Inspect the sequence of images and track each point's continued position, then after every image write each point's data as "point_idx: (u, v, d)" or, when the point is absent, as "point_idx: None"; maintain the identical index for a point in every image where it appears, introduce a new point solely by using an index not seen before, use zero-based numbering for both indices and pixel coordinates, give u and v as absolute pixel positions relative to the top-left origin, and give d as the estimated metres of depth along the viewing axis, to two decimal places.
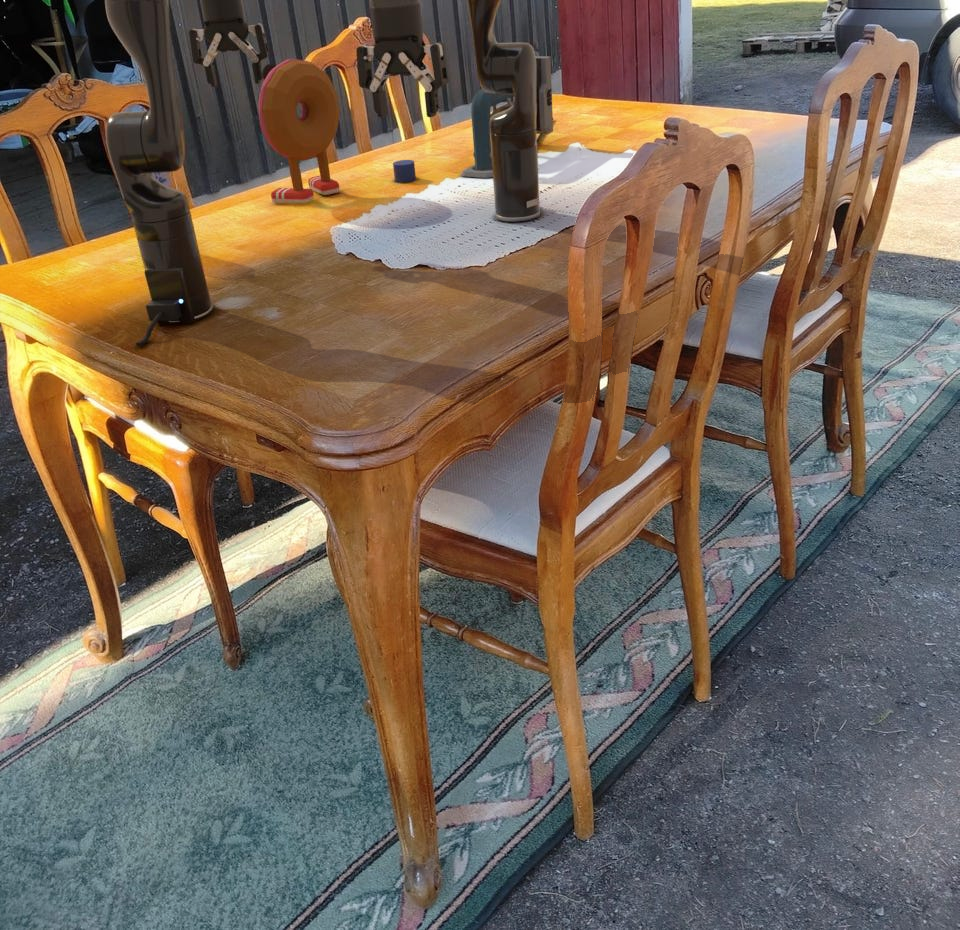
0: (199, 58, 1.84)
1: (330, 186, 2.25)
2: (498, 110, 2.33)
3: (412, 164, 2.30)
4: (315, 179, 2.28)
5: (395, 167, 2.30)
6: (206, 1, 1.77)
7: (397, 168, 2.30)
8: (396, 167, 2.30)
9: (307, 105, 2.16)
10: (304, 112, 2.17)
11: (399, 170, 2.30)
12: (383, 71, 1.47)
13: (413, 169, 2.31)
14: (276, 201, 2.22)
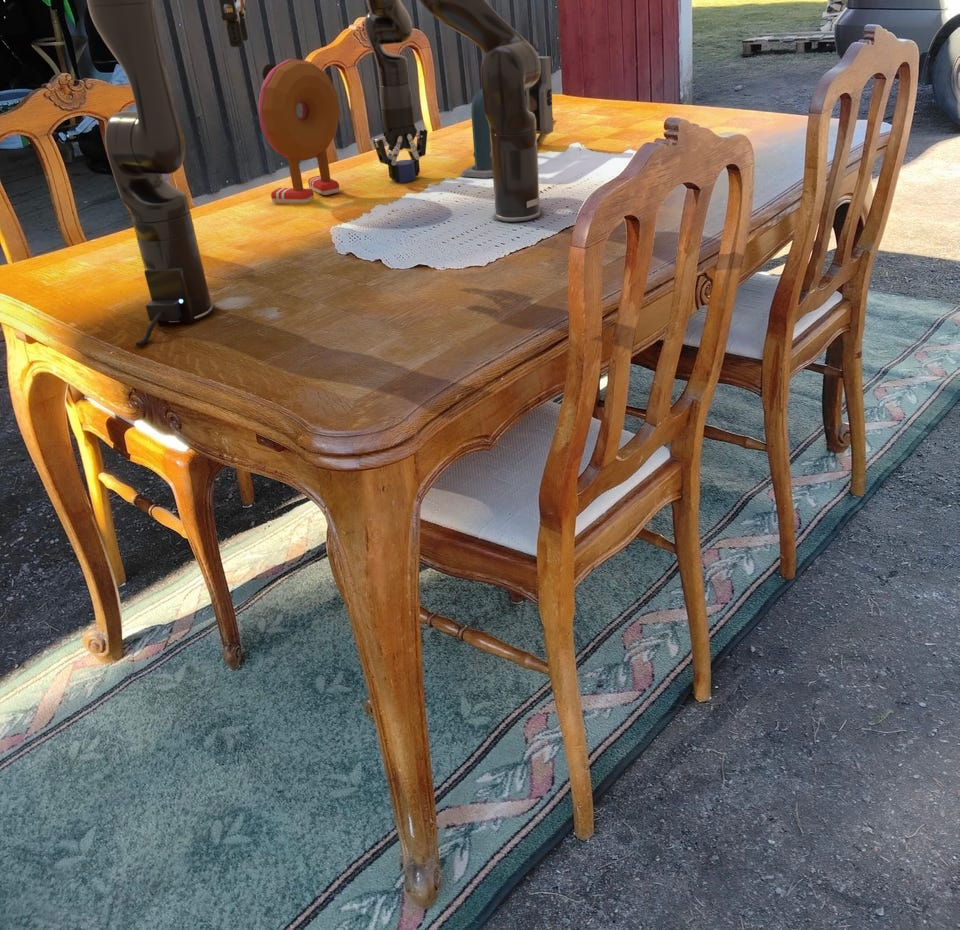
0: None
1: (330, 186, 2.25)
2: None
3: (412, 164, 2.30)
4: (315, 179, 2.28)
5: None
6: None
7: (397, 168, 2.30)
8: None
9: (307, 105, 2.16)
10: (304, 112, 2.17)
11: (399, 170, 2.30)
12: (399, 148, 2.27)
13: (413, 169, 2.31)
14: (276, 201, 2.22)
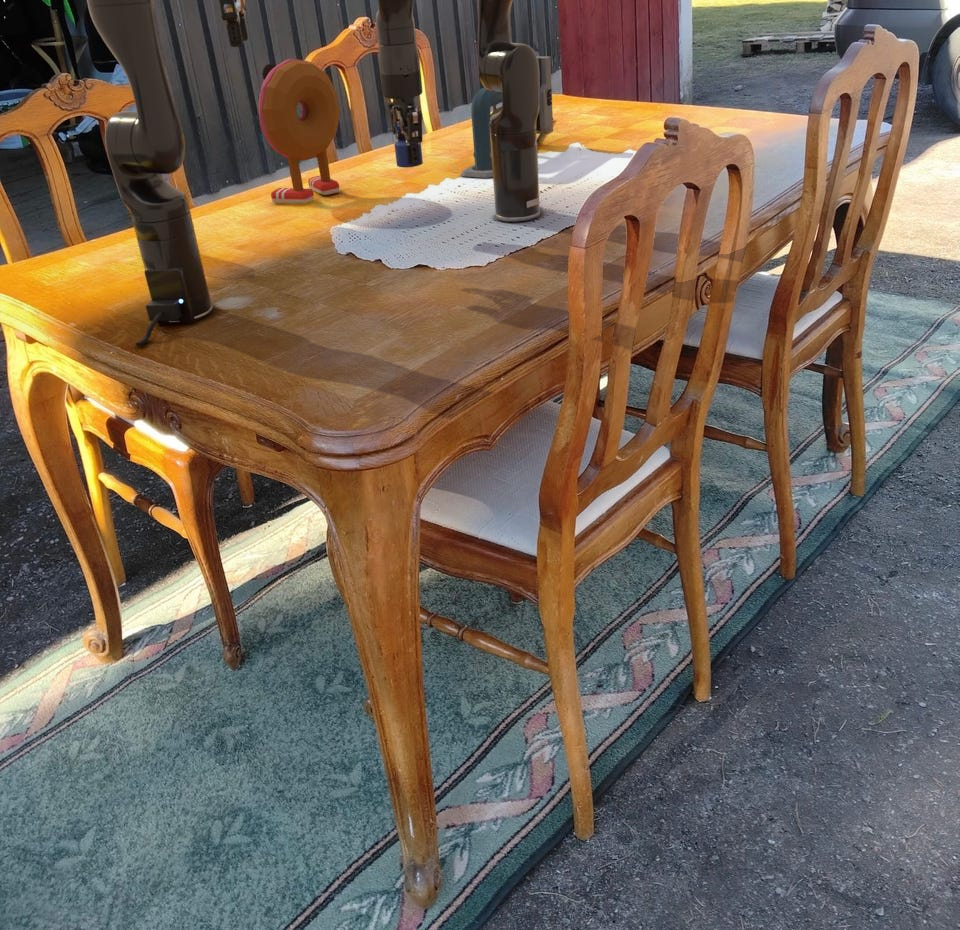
0: None
1: (330, 186, 2.25)
2: (498, 110, 2.33)
3: None
4: (315, 179, 2.28)
5: None
6: None
7: None
8: None
9: (307, 105, 2.16)
10: (304, 112, 2.17)
11: None
12: None
13: None
14: (276, 201, 2.22)
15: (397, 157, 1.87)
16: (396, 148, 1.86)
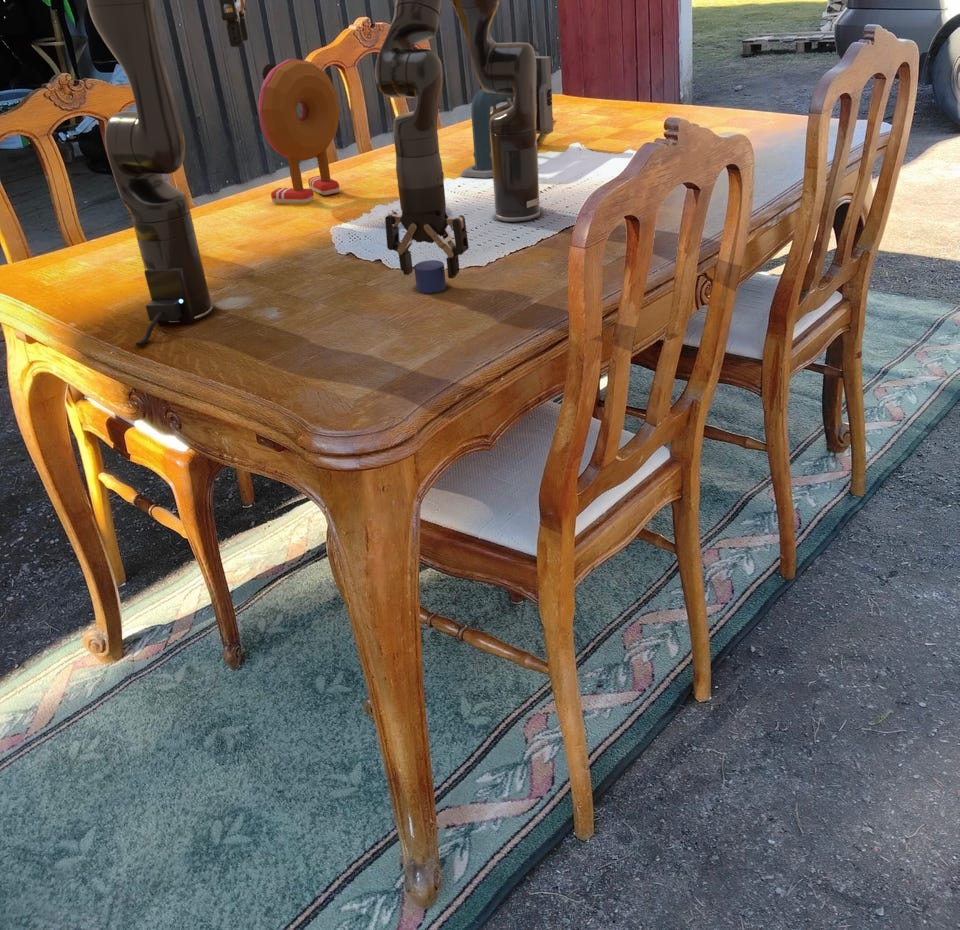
0: None
1: (330, 186, 2.25)
2: (498, 110, 2.33)
3: None
4: (315, 179, 2.28)
5: (443, 269, 1.65)
6: None
7: None
8: None
9: (307, 105, 2.16)
10: (304, 112, 2.17)
11: None
12: (442, 233, 1.63)
13: None
14: (276, 201, 2.22)
15: (426, 283, 1.64)
16: (425, 274, 1.64)
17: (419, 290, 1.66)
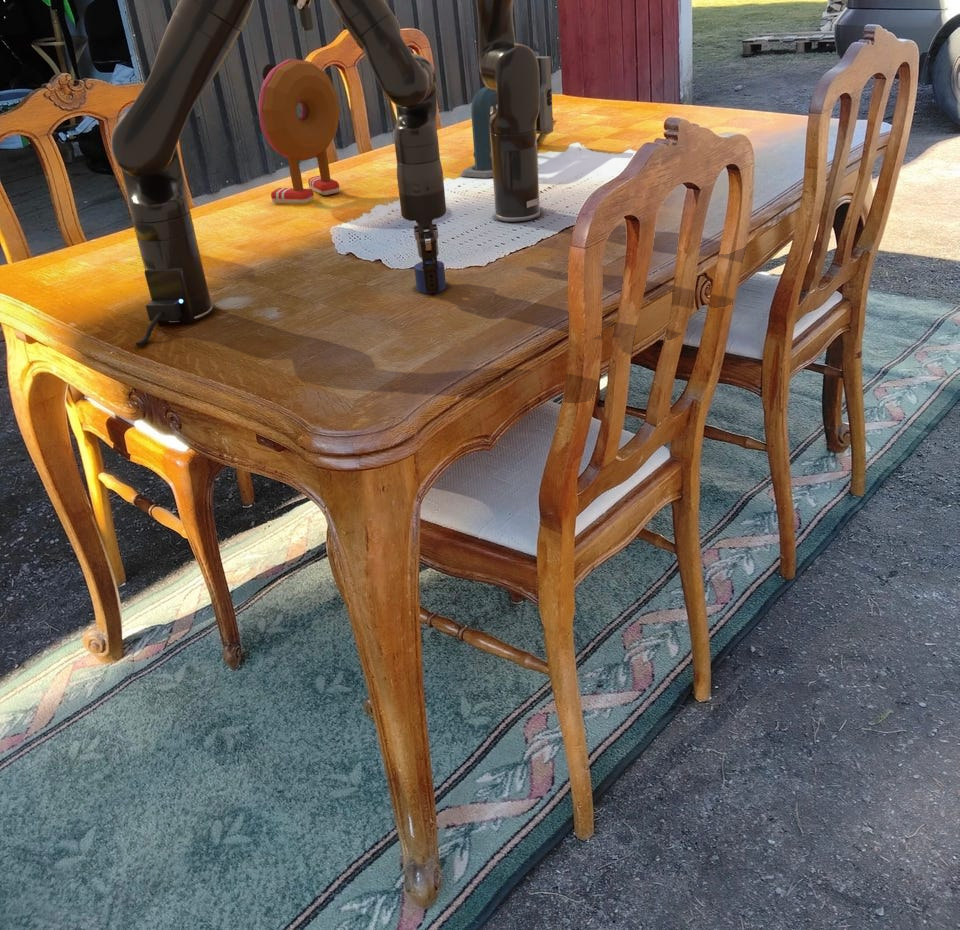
0: None
1: (330, 186, 2.25)
2: None
3: None
4: (315, 179, 2.28)
5: (443, 269, 1.65)
6: (442, 195, 1.58)
7: None
8: None
9: (307, 105, 2.16)
10: (304, 112, 2.17)
11: None
12: None
13: None
14: (276, 201, 2.22)
15: None
16: None
17: (419, 290, 1.66)
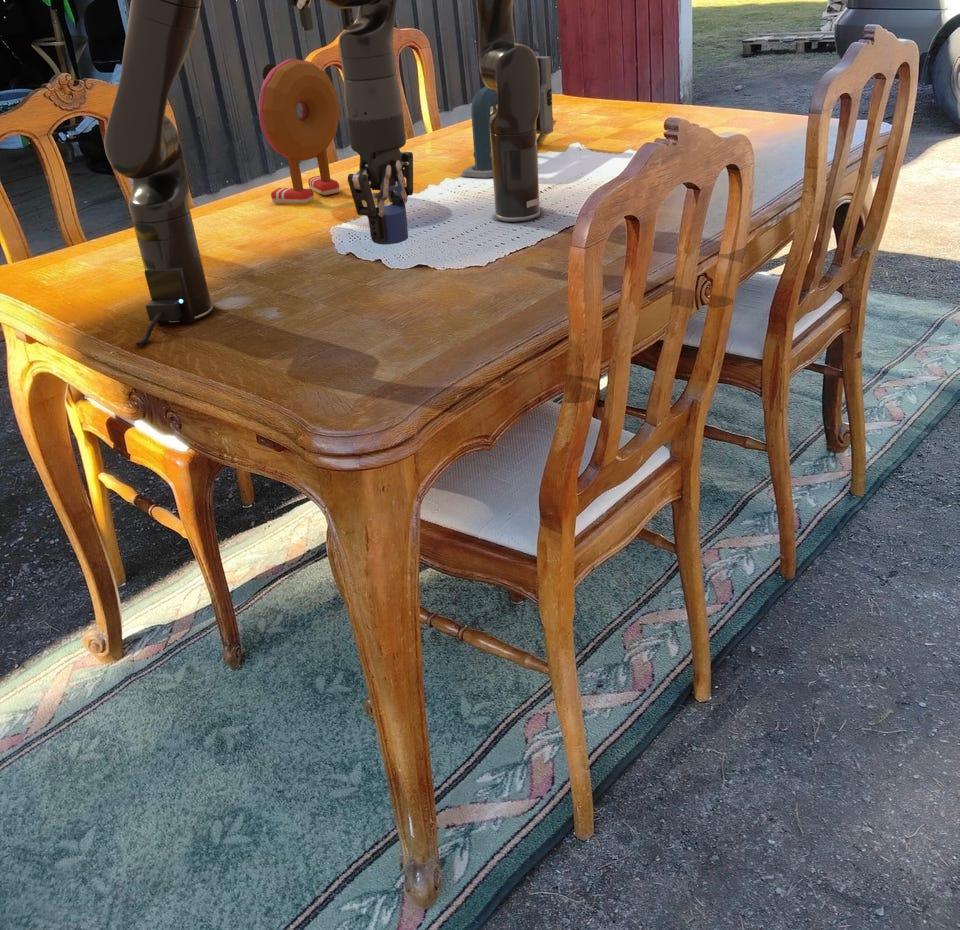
0: None
1: (330, 186, 2.25)
2: None
3: None
4: (315, 179, 2.28)
5: (398, 217, 1.35)
6: (389, 124, 1.27)
7: (402, 216, 1.35)
8: (401, 215, 1.35)
9: (307, 105, 2.16)
10: (304, 112, 2.17)
11: (404, 218, 1.36)
12: None
13: None
14: (276, 201, 2.22)
15: None
16: None
17: None
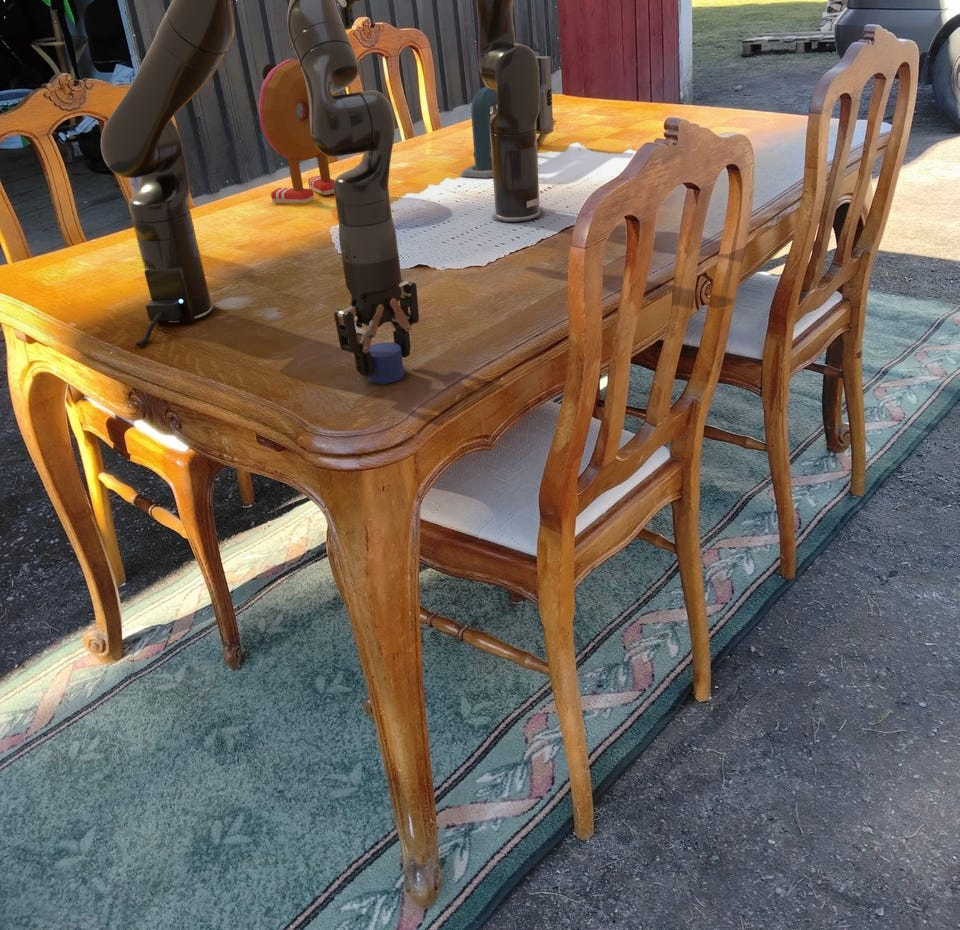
0: None
1: (330, 186, 2.25)
2: None
3: None
4: (315, 179, 2.28)
5: (390, 359, 1.34)
6: (378, 268, 1.26)
7: (395, 358, 1.35)
8: (393, 357, 1.34)
9: (307, 105, 2.16)
10: (304, 112, 2.17)
11: (398, 359, 1.35)
12: None
13: None
14: (276, 201, 2.22)
15: None
16: None
17: None
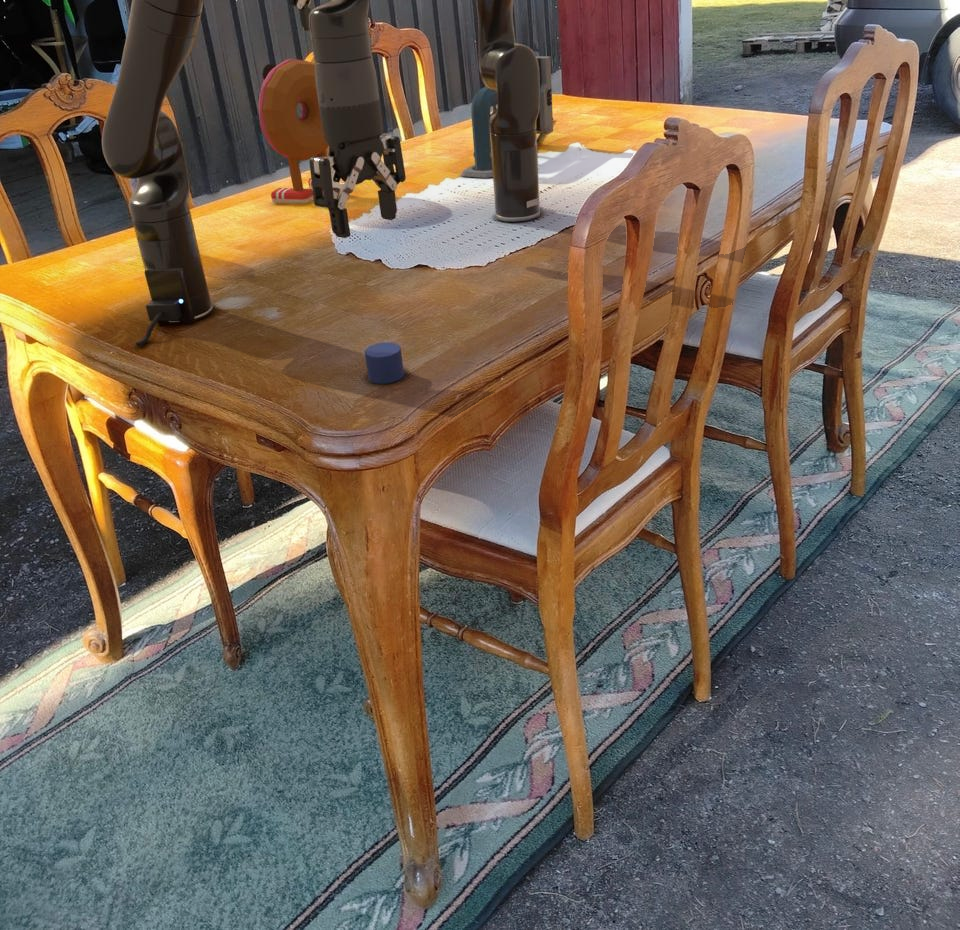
0: None
1: None
2: None
3: None
4: None
5: (390, 359, 1.34)
6: (357, 112, 1.16)
7: (395, 358, 1.35)
8: (393, 357, 1.34)
9: (307, 105, 2.16)
10: (304, 112, 2.17)
11: (398, 359, 1.35)
12: None
13: None
14: (276, 201, 2.22)
15: (369, 370, 1.36)
16: (367, 359, 1.35)
17: None
